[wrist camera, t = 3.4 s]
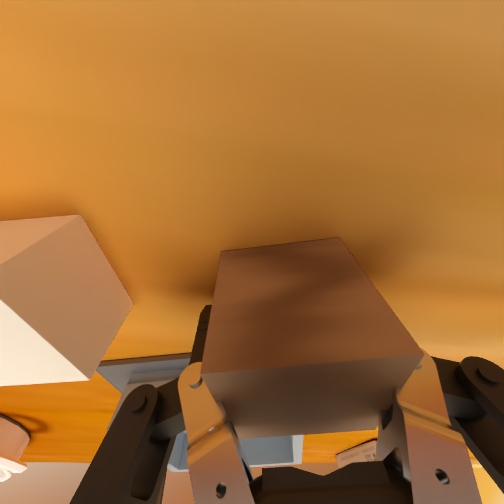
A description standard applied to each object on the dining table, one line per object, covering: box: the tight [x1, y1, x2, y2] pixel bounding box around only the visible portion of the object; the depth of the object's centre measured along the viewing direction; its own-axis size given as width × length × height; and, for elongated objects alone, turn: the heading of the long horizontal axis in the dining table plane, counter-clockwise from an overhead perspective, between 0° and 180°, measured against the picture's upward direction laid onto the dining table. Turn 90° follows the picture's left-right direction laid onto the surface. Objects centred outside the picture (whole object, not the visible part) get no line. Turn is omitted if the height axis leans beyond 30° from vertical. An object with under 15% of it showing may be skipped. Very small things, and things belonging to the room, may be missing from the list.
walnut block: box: [200, 238, 425, 439], centre depth 10 cm, size 6×6×6 cm
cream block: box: [0, 214, 134, 386], centre depth 9 cm, size 6×6×4 cm
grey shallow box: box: [96, 353, 303, 472], centre depth 19 cm, size 18×16×4 cm
